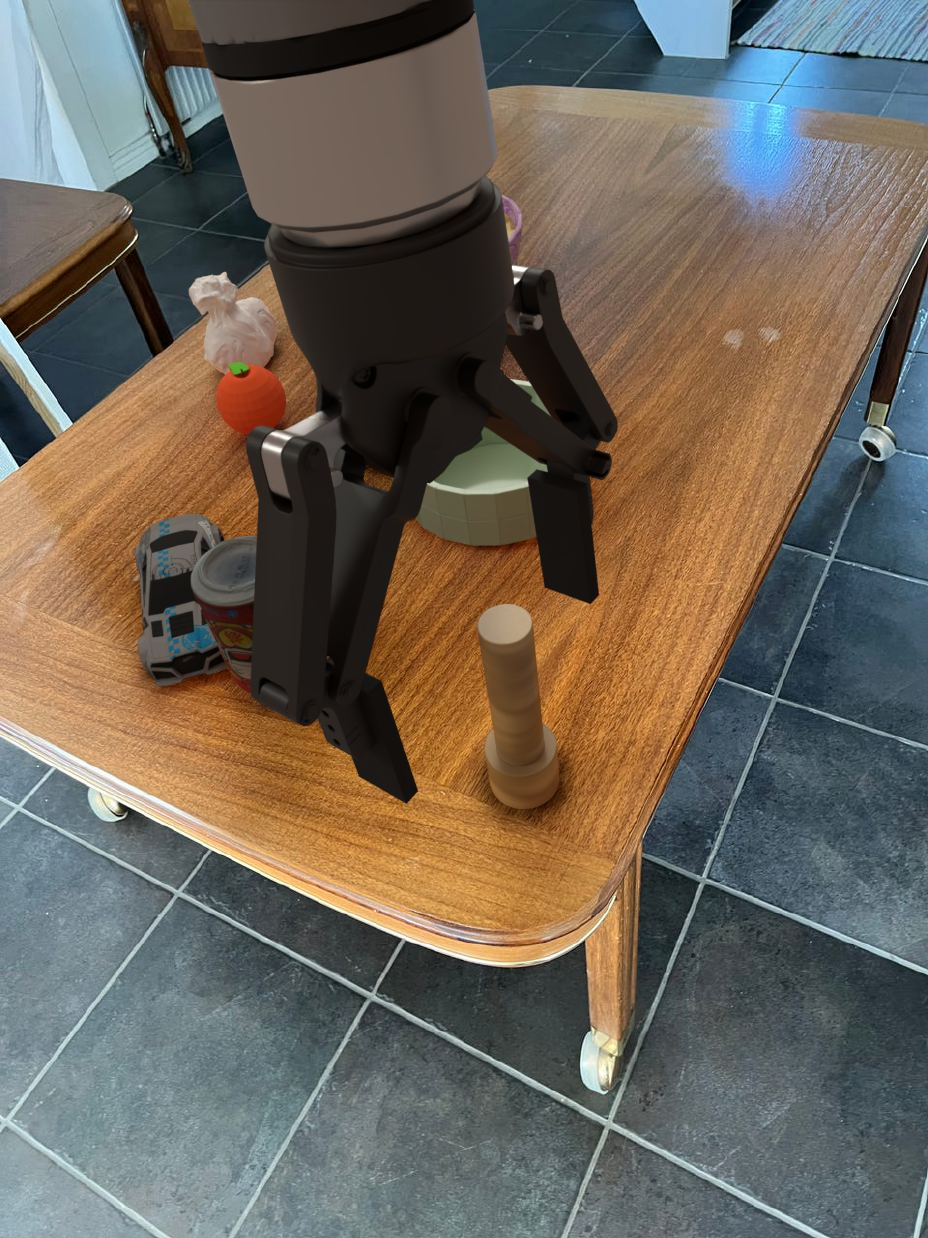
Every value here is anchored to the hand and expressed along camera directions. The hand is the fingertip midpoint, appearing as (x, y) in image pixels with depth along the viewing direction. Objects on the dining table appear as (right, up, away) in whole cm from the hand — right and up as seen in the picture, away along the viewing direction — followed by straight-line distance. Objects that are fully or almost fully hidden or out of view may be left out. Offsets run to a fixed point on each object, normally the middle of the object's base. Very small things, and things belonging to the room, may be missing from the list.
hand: (487, 680), depth 43 cm
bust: (-26, +32, +65) cm, 77 cm away
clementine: (-22, +23, +57) cm, 65 cm away
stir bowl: (+2, +15, +45) cm, 47 cm away
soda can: (-15, -2, +33) cm, 36 cm away
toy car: (-24, +3, +39) cm, 46 cm away
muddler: (+3, -8, +23) cm, 25 cm away
